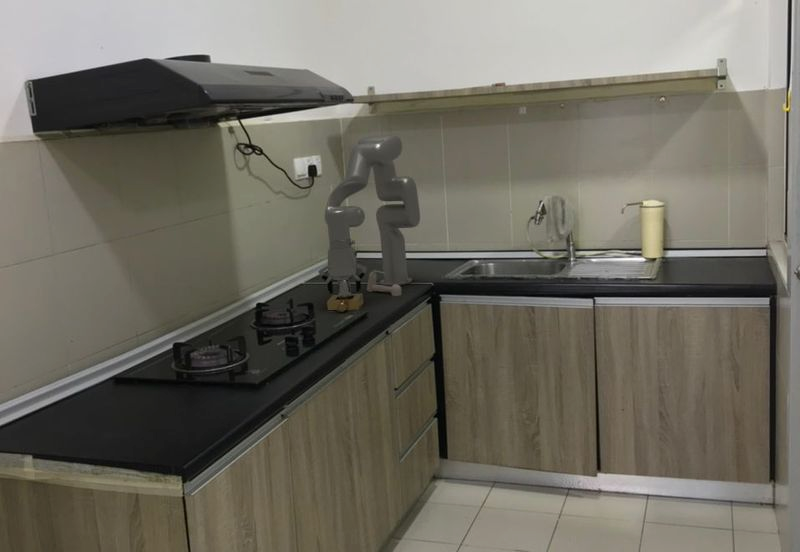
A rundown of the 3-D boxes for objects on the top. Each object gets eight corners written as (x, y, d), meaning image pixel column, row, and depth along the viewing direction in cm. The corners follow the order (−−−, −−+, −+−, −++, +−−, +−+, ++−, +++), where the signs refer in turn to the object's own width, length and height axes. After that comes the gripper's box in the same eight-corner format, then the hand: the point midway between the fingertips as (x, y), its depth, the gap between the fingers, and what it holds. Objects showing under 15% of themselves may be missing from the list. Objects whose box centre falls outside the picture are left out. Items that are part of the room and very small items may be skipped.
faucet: (393, 308, 317) (397, 284, 313) (364, 289, 328) (367, 266, 324) (401, 306, 319) (405, 282, 315) (372, 287, 331) (375, 264, 327)
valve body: (335, 302, 313) (334, 293, 312) (364, 300, 311) (363, 291, 311) (326, 314, 294) (325, 304, 293) (357, 312, 293) (356, 302, 292)
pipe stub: (341, 306, 305) (338, 278, 303) (353, 305, 305) (350, 278, 303) (339, 308, 301) (336, 281, 299) (351, 308, 300) (348, 280, 299)
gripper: (366, 241, 302) (370, 288, 305) (318, 244, 303) (322, 291, 307) (363, 244, 294) (367, 292, 297) (314, 247, 296) (319, 295, 299)
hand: (344, 292), depth 302 cm, fingers open, 9 cm apart
